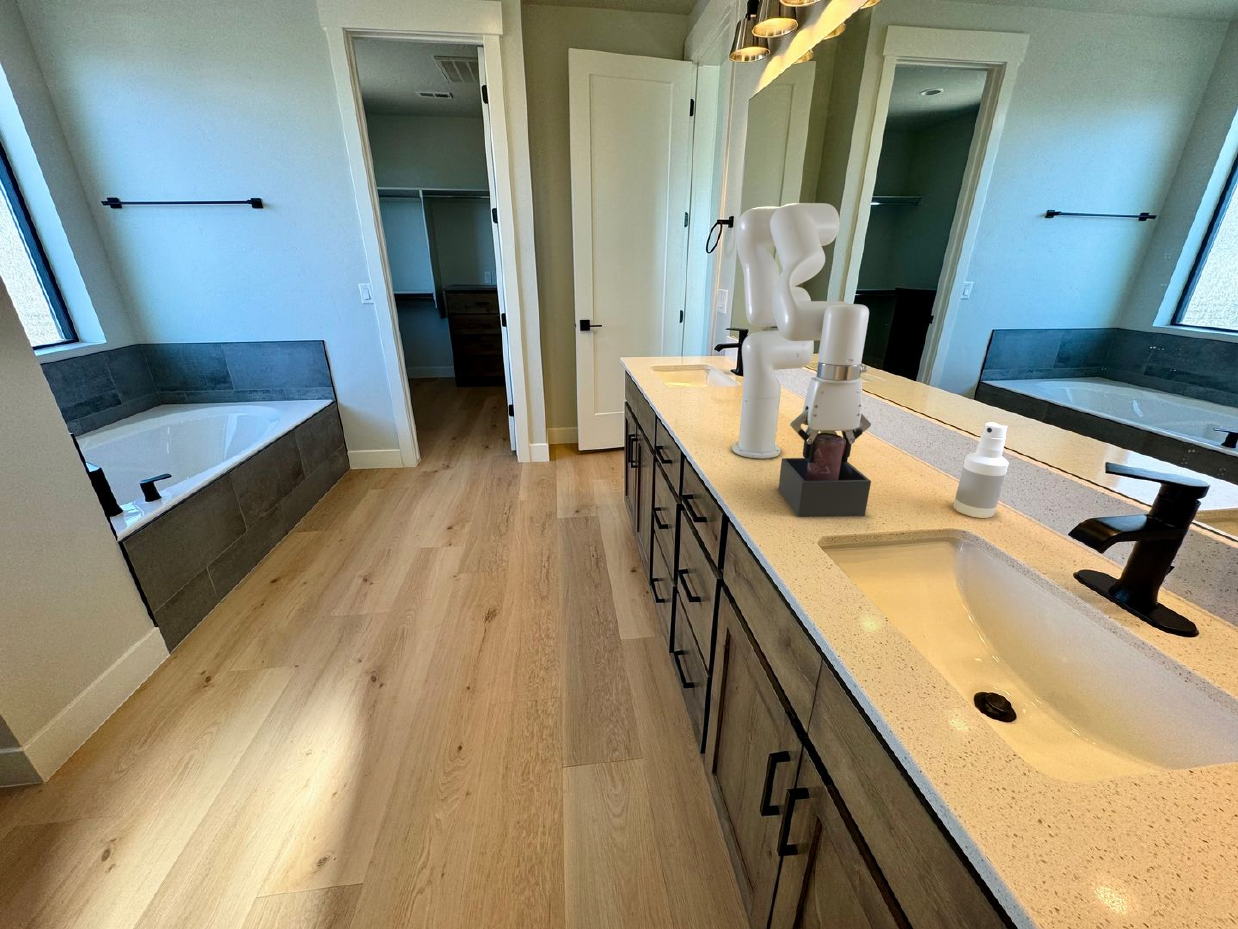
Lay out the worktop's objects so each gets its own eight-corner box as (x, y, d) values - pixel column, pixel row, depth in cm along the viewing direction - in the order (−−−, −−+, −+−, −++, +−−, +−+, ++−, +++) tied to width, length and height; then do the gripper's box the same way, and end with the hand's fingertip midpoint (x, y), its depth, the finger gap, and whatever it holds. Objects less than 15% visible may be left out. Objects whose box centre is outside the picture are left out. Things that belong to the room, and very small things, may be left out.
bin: (778, 489, 110) (781, 458, 107) (837, 488, 110) (842, 457, 107) (798, 516, 97) (802, 481, 95) (864, 515, 97) (871, 481, 95)
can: (838, 507, 100) (849, 442, 95) (805, 504, 101) (815, 440, 96) (832, 494, 105) (842, 432, 100) (801, 492, 107) (810, 430, 101)
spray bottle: (945, 506, 100) (966, 422, 94) (968, 501, 103) (990, 418, 96) (978, 521, 94) (1003, 431, 88) (1002, 515, 97) (1028, 427, 90)
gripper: (873, 368, 97) (859, 453, 103) (786, 369, 97) (777, 454, 104) (893, 375, 90) (876, 466, 96) (799, 376, 90) (788, 467, 97)
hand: (825, 459), depth 100 cm, fingers closed on can, 6 cm apart
